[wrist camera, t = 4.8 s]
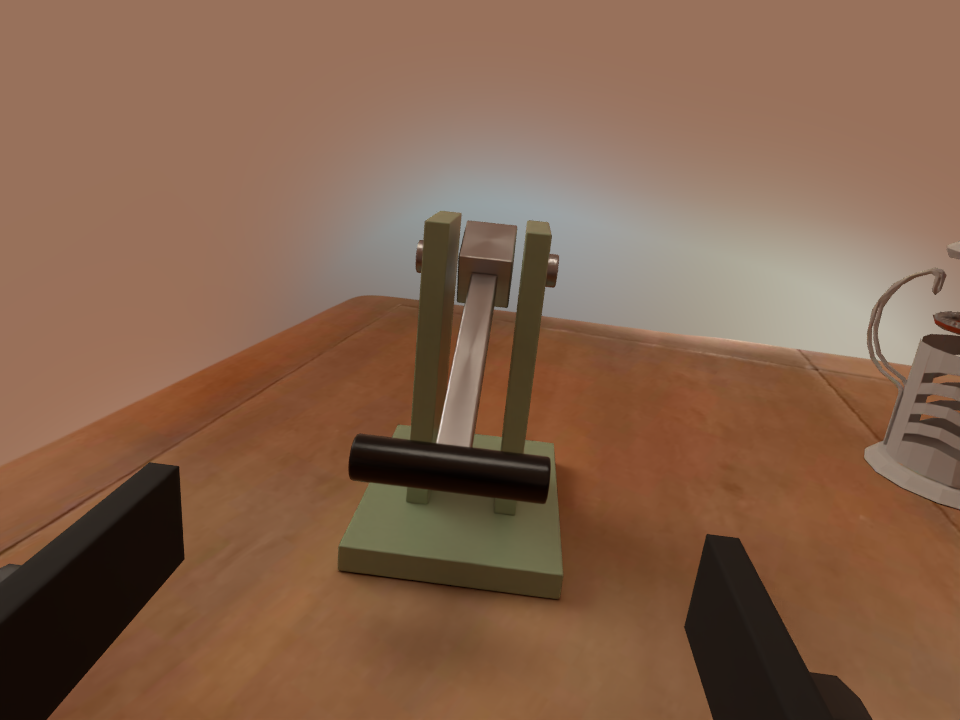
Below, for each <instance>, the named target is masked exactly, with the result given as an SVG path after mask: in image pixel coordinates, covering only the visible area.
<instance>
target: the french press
mask: <svg viewBox="0 0 960 720" xmlns="http://www.w3.org/2000/svg"><path fill="white" fill-rule="evenodd" d="M947 251H948V255H949V257H951V258H956V259H960V241H958V242H956V243H953V244H951V245H948V246H947ZM927 274H933V275H934V276H935V280H934V285H933V288H932V292H933V293H934V294H935V295H936V294H937V293H938V292H939V291H941V289H942V286H943V283H944V280H945V278H946V274H945V272H944V271H943V270H942V269H938V268H932V269H929V270H925V271H922V272H918V273H915V274H913V275H909V276H907V277H906V278H903V279H902V280H900V281H898V282H896V283H894V284H893V285H892V286H891V287H890V288H889V289H888V290H887V291H886V293H884V294H883V295H882V297H881V298H880V299H879V300H878V302H877V303H876V305H875V306H874V308H873V309H872V313H871V318H870V322H869V327H868V331H867V345H868V350H869V354H870V358H871V359H872V361H873V362H874V364H875V365H876V367H877V368H878V369H879V371H880V372H881V373H882V374H883V375H885V376H886V377H887V378H888V379H889V380H890V381H892V382H893V383H894V384H895V385H896V386H897V387H898V389H899V393H898V396H897V400H896V403H895V406H894V409H893V412H892V415H891V419H890V422H889V425H888V428H887V431H886V435H885V438H884V441H881V442H879V443H876V444H874V445H872V446H869V447H867V448H865V455H864V459H865V460H866V461H867V462H868V463H869V464H870V465H871V466H872V467H873V469H874V470H875V471H876V472H878V473H879V474H881V475H883V476H884V477H886V478H887V479H889V480H891V481H892V482H894V483H895V484H897V485H899V486H900V487H902V488H904V489H907V490H909V491H911V492H914V493H916V494H918V495H921V496H923V497H925V498H928V499H930V500H932V501H935V502H937V503H940V504H943V505H947V506H950V507H954V508H957V509H960V413H958V412H956V411H954V410H959V411H960V383H949V382H946V383H941V384H937V383H932V381H933V378H935V377H939V376H943V375H947V374H951V375H957V376H960V357H958V356H955V355H960V336H953V335H937V334H930V335H927V336H924V337H923V339H922V341H921V340H920V343H919V346H918V349H917V352H916V355H915V358H914V361H913V364H912V367H911V370H910V373H909V376H908V380H906V378H905V377H904V376H902V375H901V374H900V373H899V372H897V371H896V370H895V369H894V368H892V367H891V366H890V365H889V364H888V362H887V361H886V359H885V358H884V356H883V355H882V354H881V350H880V345H879V341H878V327H879V323H880V318H881V314H882V310H883V307H884V306H885V304H886V303H887V301H888V300H889V299H890V297H891V296H892V295H893V294H894V293H895V292H896V291H897V290H898V289H899V288H900V287H901V286H902V285H903V284H905V283H907V282H908V281H910V280H912V279H914V278H916V277H919V276H923V275H927ZM878 308H879V309H878ZM877 311H878V312H877ZM954 313H956V314H954ZM876 314H877V315H876ZM875 317H876V319H875ZM933 317H934V321H935V324H936V325H938V326H939V327H941V328H942V329H944V330H947V331H950V332H953V333H956V334H958V335H960V312H951V311H950V312H940V313H936V314H935V315H933ZM874 320H875V322H874ZM873 323H874V344H875V349H876V354H877V355H878V357H879V358H880V360H881V361H882V362H883V364H884V365H885V367H886V368H887V369H889V370H890V371H891V372H892V373H894V374H895V375H896V376H897V377H899V378H900V379H901V380H902V382H903V383H904V389H903V387H902V385H901V384H900V383H899V382H898V381H897V380H896V379H894V378H893V377H892V376H891V375H889V374H888V373H887V372H886V371H884V370H883V369H882V367H881V366H880V364H879V363H878V361H877V359H876V358H875V356H874V351H873V346H872V326H873ZM930 395H939V396H944V397H949V398H953V399H955V400H957V401H946V400H939V401H934V402H930V403H925V402H926V399H927V396H930ZM921 414H926V415H931V416H935V417H940V418H930V419H925V420H921V421H919V420H920V417H921Z"/></svg>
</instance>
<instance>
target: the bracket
mask: <svg viewBox="0 0 960 720" xmlns="http://www.w3.org/2000/svg"><path fill="white" fill-rule="evenodd" d="M460 226H461V213H456V212H446V211H440V212H438V213H437V214H435V215H433V216H432V217H430V218H429V219H427V220H426V221H425V225H424V240H420V241H419V243H418V246H417V253H416V271H417V272H418V273H421V284H420V299H419V314H418V329H417V343H416V358H415V373H414V388H413V403H412V417H411V426H405V425H398V426H397V428H396V430H395V432H394V434H393V436H392V438H400V439H408V440H416V441H425V442H433V443H436V440H437V435H438V430H439V426H440V421H441V416H442V411H443V406H444V402H445V397H446V390H447V379H448V367H449V355H450V343H451V332H452V320H453V308H454V296H455V285H456V272H457V261H458V249H459V238H460ZM551 239H552V235H551V231H550V226H549V223H548V222H540V221H530V220H529V221H527V228H526V236H525V245H524V253H523V261H522V271H521V279H520V287H519V295H518V304H517V312H516V321H515V330H514V338H513V347H512V355H511V364H510V372H509V381H508V389H507V398H506V406H505V415H504V423H503V432H502V437H496V436H488V435H479V434H475V435H474V441H473V447H474V448H482V449H490V450H498V451H507V452H515V453H523V454H531V455H539V456H548V457H549V458H550V460H551V474H550V485H549V492H548V498H547V501H546V503H545V504H536V503H528V502H520V501H512V500H504V499H496V498H488V497H480V496H472V495H464V494H456V493H448V492H440V491H432V490H424V489H416V488H408V487H400V486H393V485H385V484H377V483H369V485H368V487H367V489H366V491H365V493H364V495H363V497H362V499H361V501H360V503H359V506H358V508H357V510H356V512H355V514H354V516H353V518H352V520H351V522H350V524H349V526H348V528H347V530H346V532H345V534H344V536H343V538H342V540H341V542H340V544H339V547H338V570H339V571H347V572H355V573H362V574H370V575H377V576H385V577H393V578H400V579H408V580H415V581H423V582H431V583H438V584H446V585H453V586H461V587H469V588H476V589H484V590H491V591H499V592H507V593H514V594H522V595H529V596H537V597H544V598H552V599H559V598H560V593H561V587H562V581H563V563H562V549H561V535H560V522H559V508H558V494H557V480H556V467H555V453H554V444H553V443H545V442H537V441H529V440H525V438H526V431H527V423H528V415H529V408H530V400H531V392H532V385H533V377H534V369H535V361H536V354H537V346H538V338H539V331H540V323H541V315H542V307H543V300H544V292H545V287H555V285H556V279H557V273H558V264H559V256H558V255H554V254H550V246H551Z"/></svg>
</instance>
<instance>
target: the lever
mask: <svg viewBox="0 0 960 720" xmlns="http://www.w3.org/2000/svg"><path fill="white" fill-rule="evenodd" d="M516 234H517V226H514V225H505V224H495V223H487V222H477V221H467V224H466V228H465V232H464V236H463V240H462V245H461V249H460V253H459V260H458V287H457V289H458V290H457V302H459V303H465V305H464V310H463V315H462V320H461V325H460V329H459V334H458V339H457V344H456V349H455V353H454V358H453V363H452V368H451V373H450V378H449V382H448V387H447V392H446V397H445V402H444V406H443V411H442V416H441V421H440V426H439V430H438V435H437V440H436V443H433V442H425V441H416V440H408V439H400V438H392V437H384V436H375V435H367V434H357V435H356V437H355V439H354V441H353V443H352V447H351V451H350V456H349V467H348V469H349V477H350V479H351V480H353V481H361V482H369V483H377V484H385V485H393V486H400V487H408V488H416V489H424V490H432V491H440V492H448V493H456V494H464V495H472V496H480V497H488V498H496V499H504V500H512V501H520V502H528V503H536V504H545V503H546V501H547V498H548V492H549V485H550V474H551V460H550V458H549V457H548V456H539V455H531V454H523V453H515V452H507V451H498V450H490V449H482V448H474V447H473V441H474V435H475V428H476V422H477V415H478V409H479V402H480V396H481V389H482V383H483V376H484V369H485V363H486V356H487V350H488V343H489V337H490V330H491V324H492V317H493V311H494V306H496V307H505V308H507V307H508V303H509V295H510V287H511V279H512V272H513V262H514V253H515V243H516Z"/></svg>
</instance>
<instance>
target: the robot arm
mask: <svg viewBox="0 0 960 720" xmlns="http://www.w3.org/2000/svg"><path fill="white" fill-rule="evenodd" d="M183 560H184V544H183V527H182V509H181V492H180V475H179V466H173V465H165V464H157V463H150V462H149V463H148V464H147V465H146V466H144V467H143V468H142V469H141V470H140V471H138V472H137V473H136V474H135V475H133V476H132V477H131V478H130V479H128V480H127V481H126V482H125V483H123V484H122V485H121V486H120V487H118V488H117V489H116V490H115V491H113V492H112V493H111V494H110V495H109V496H107V497H106V498H105V499H104V500H102V501H101V502H100V503H99V504H97V505H96V506H95V507H94V508H92V509H91V510H90V511H89V512H87V513H86V514H85V515H84V516H82V517H81V518H80V519H79V520H78V521H76V522H75V523H74V524H73V525H71V526H70V527H69V528H68V529H66V530H65V531H64V532H63V533H61V534H60V535H59V536H58V537H56V538H55V539H54V540H53V541H51V542H50V543H49V544H48V545H47V546H45V547H44V548H43V549H42V550H40V551H39V552H38V553H37V554H35V555H34V556H33V557H32V558H30V559H29V560H28V561H27V562H25V563H24V564H23V565H15V564H8V565H6V566H4V567H2V568H0V720H47V718H48V717H49V716H50V715H51V714H52V713H53V711H54V710H55V709H56V708H57V707H58V706H59V704H60V703H61V702H62V701H63V700H64V699H65V697H66V696H67V695H68V694H69V693H70V692H71V690H72V689H73V688H74V687H75V686H76V685H77V684H78V682H79V681H80V680H81V679H82V678H83V677H84V675H85V674H86V673H87V672H88V671H89V670H90V668H91V667H92V666H93V665H94V664H95V663H96V661H97V660H98V659H99V658H100V657H101V656H102V654H103V653H104V652H105V651H106V650H107V649H108V647H109V646H110V645H111V644H112V643H113V642H114V641H115V639H116V638H117V637H118V636H119V635H120V634H121V632H122V631H123V630H124V629H125V628H126V627H127V625H128V624H129V623H130V622H131V621H132V620H133V618H134V617H135V616H136V615H137V614H138V613H139V611H140V610H141V609H142V608H143V607H144V606H145V604H146V603H147V602H148V601H149V600H150V599H151V598H152V596H153V595H154V594H155V593H156V592H157V591H158V589H159V588H160V587H161V586H162V585H163V584H164V582H165V581H166V580H167V579H168V578H169V577H170V575H171V574H172V573H173V572H174V571H175V570H176V568H177V567H178V566H179V565H180V564H181V563H182V561H183ZM684 628H685V631H686V634H687V637H688V641H689V644H690V647H691V650H692V653H693V657H694V660H695V663H696V666H697V669H698V672H699V676H700V679H701V682H702V685H703V688H704V692H705V695H706V698H707V701H708V704H709V708H710V711H711V714H712V717H713V720H872V718H871V716H870V715H869V713H868V711H867V710H866V708H865V706H864V705H863V703H862V701H861V699H860V698H859V697H858V696H857V695H856V694H855V693H854V692H853V691H852V690H851V689H849V688H848V687H847V686H846V685H845V684H844V683H843V682H842V681H841V680H840V679H839V678H838V677H837V676H833V675H826V674H819V673H812V672H809V671H808V669H807V667H806V665H805V663H804V661H803V659H802V658H801V656H800V654H799V652H798V650H797V648H796V646H795V644H794V642H793V640H792V638H791V637H790V635H789V633H788V631H787V629H786V627H785V625H784V623H783V621H782V619H781V618H780V616H779V614H778V612H777V610H776V608H775V606H774V604H773V602H772V600H771V598H770V597H769V595H768V593H767V591H766V589H765V587H764V585H763V583H762V581H761V579H760V578H759V576H758V574H757V572H756V570H755V568H754V566H753V564H752V562H751V560H750V559H749V557H748V555H747V553H746V551H745V549H744V547H743V545H742V543H741V541H740V539H739V538H733V537H725V536H718V535H710V534H707V535H706V539H705V543H704V547H703V552H702V556H701V560H700V564H699V568H698V572H697V576H696V581H695V585H694V589H693V593H692V597H691V601H690V605H689V610H688V614H687V618H686V622H685V626H684Z"/></svg>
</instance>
